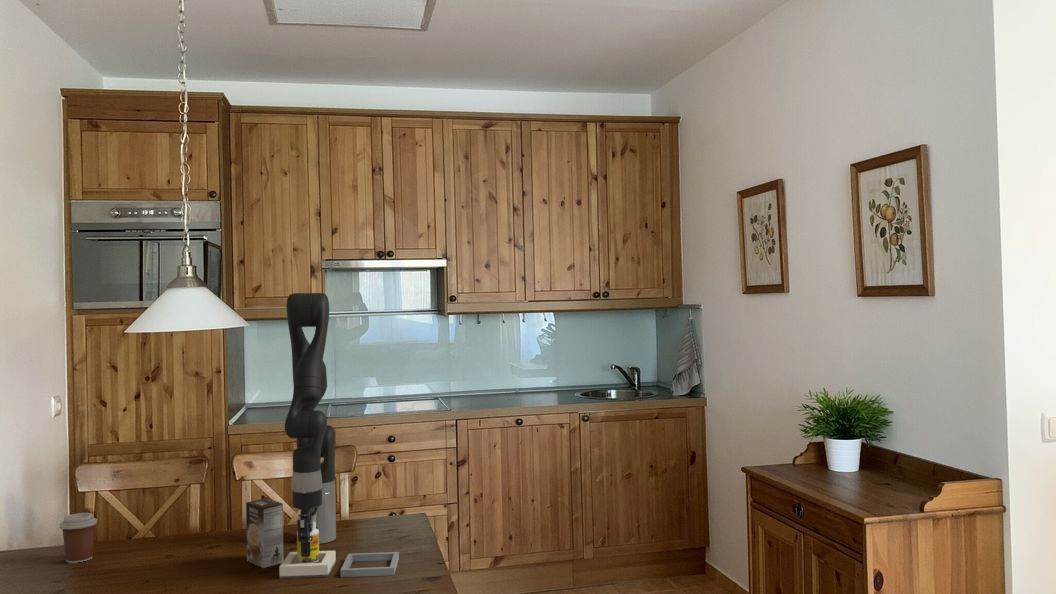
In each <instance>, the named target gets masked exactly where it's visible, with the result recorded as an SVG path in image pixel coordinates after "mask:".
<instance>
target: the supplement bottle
mask: <svg viewBox="0 0 1056 594" xmlns="http://www.w3.org/2000/svg"><path fill="white" fill-rule="evenodd" d="M308 529H310V528H308ZM303 537H306V534H305V533H303ZM310 539H311V541H310V556H309V557H302V556H301V542H299V541H298V531H297V532H296V552H297V562H298V563H299V564H302V563H316V562H318V561H319V551H320V544H319V530H318V529H316V522H313V532H312V533H311V538H310Z"/></svg>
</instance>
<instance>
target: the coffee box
mask: <svg viewBox="0 0 1056 594" xmlns="http://www.w3.org/2000/svg"><path fill="white" fill-rule="evenodd" d="M245 509H246V512H245V514H246V515H245V520H246V524H245V525H246V562H248V561H249V563H251V564H253V565H255V566H257V567H259V566H260V568H261V569H262V568H263V569H265V568H268V567H273V566H276V565H281V564H282V562H283V561H284V503H282V502H280V501H276V500H273V499H271V498H268V497H264V498H260V499H255V500H251V501H247V502H246V503H245Z"/></svg>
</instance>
